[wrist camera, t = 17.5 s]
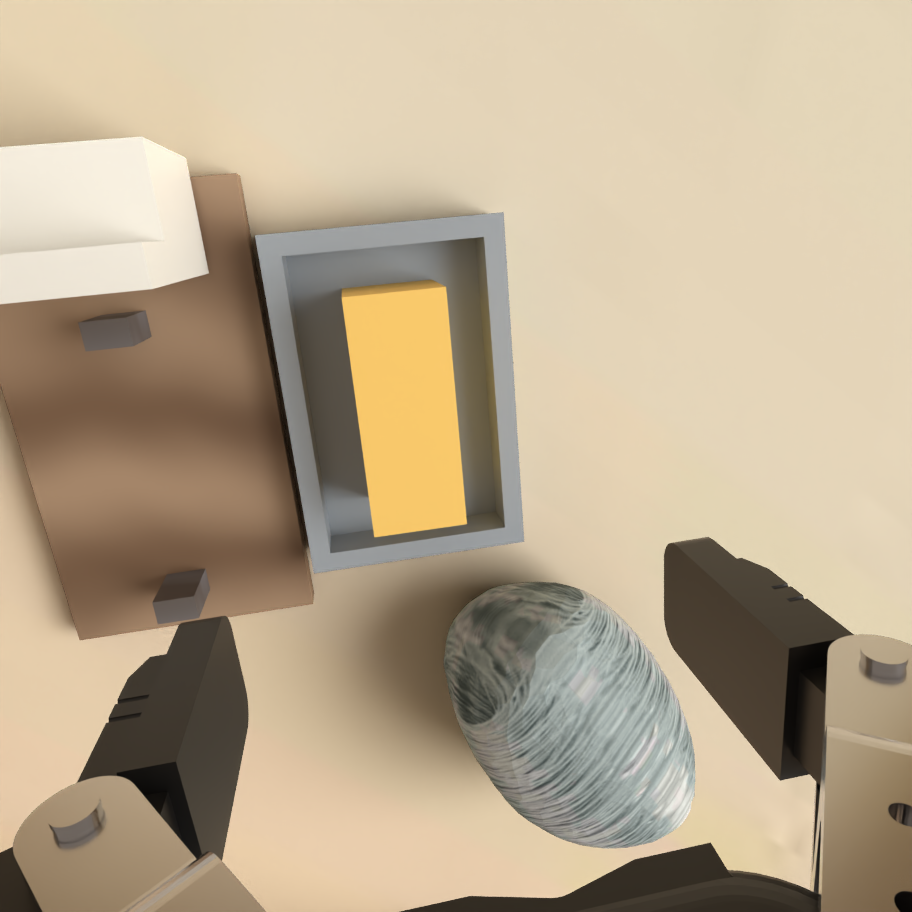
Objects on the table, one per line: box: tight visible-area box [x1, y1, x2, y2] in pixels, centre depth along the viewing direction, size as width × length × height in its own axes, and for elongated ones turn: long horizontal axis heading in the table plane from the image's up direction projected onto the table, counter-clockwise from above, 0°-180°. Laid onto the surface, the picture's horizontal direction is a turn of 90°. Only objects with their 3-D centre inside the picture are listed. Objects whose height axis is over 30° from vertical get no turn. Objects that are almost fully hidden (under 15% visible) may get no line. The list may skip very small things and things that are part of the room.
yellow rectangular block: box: [342, 279, 467, 537], centre depth 27 cm, size 9×4×4 cm, turn 5°
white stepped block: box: [0, 137, 209, 304], centre depth 21 cm, size 4×7×8 cm, turn 95°
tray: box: [255, 212, 524, 573], centre depth 28 cm, size 14×9×2 cm
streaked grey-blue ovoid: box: [444, 582, 695, 848], centre depth 31 cm, size 14×10×10 cm
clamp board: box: [0, 174, 314, 640], centre depth 26 cm, size 18×10×3 cm, turn 5°
